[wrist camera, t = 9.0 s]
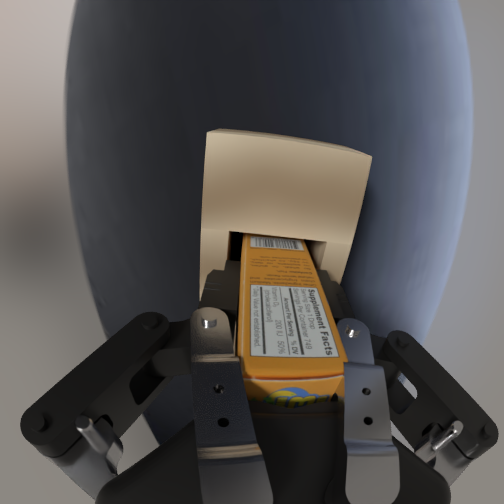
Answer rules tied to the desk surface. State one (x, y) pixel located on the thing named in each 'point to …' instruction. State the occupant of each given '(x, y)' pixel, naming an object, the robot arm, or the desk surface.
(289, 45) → the desk surface
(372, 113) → the desk surface
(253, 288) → the supplement box
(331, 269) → the socket block
